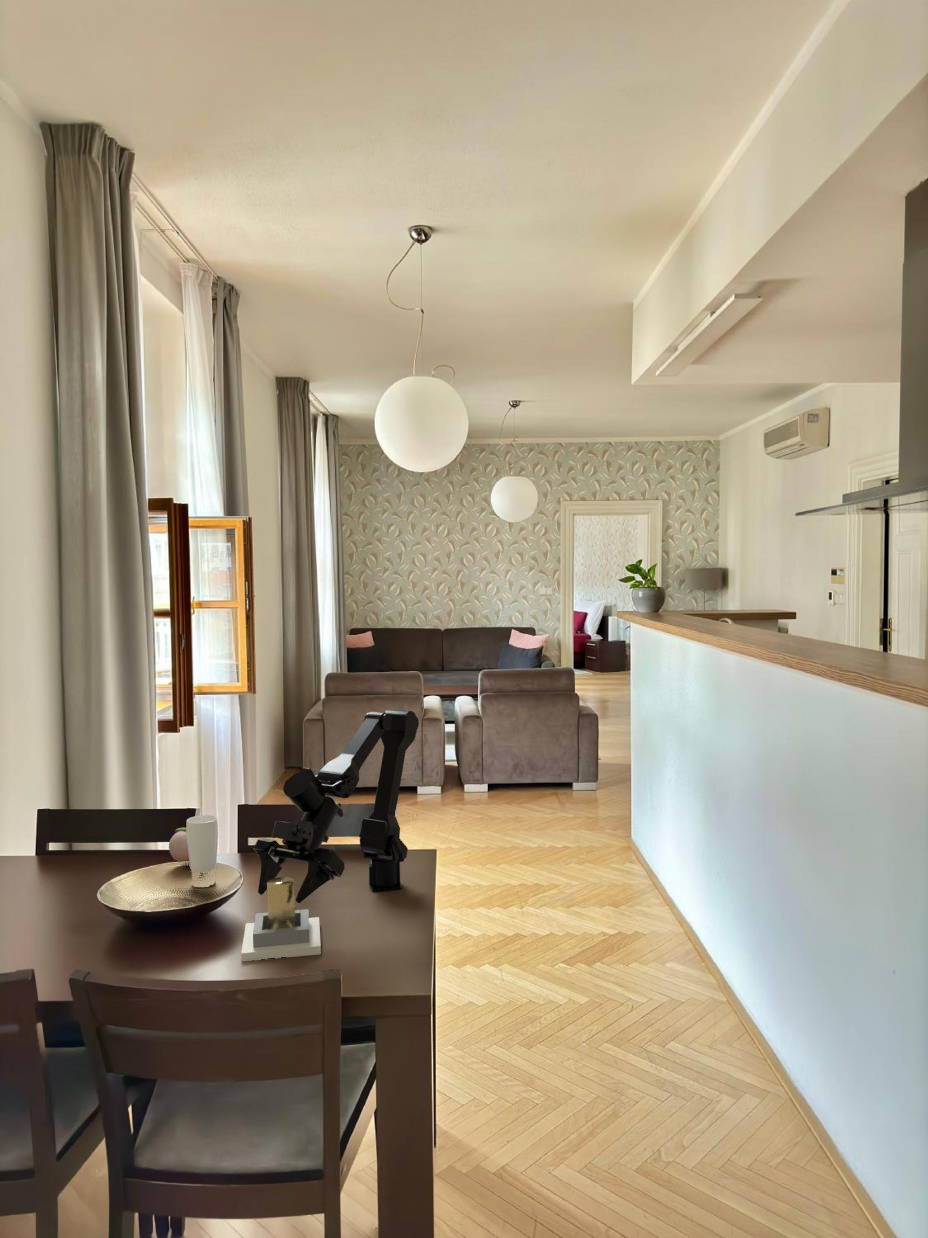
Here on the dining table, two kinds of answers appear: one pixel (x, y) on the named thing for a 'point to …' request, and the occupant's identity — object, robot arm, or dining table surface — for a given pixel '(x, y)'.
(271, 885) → the cylinder
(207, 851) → the drinking glass
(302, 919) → the jig plate
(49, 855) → the dining table surface
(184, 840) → the decorative fruit
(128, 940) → the dining table surface
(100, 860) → the dining table surface
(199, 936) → the dining table surface
